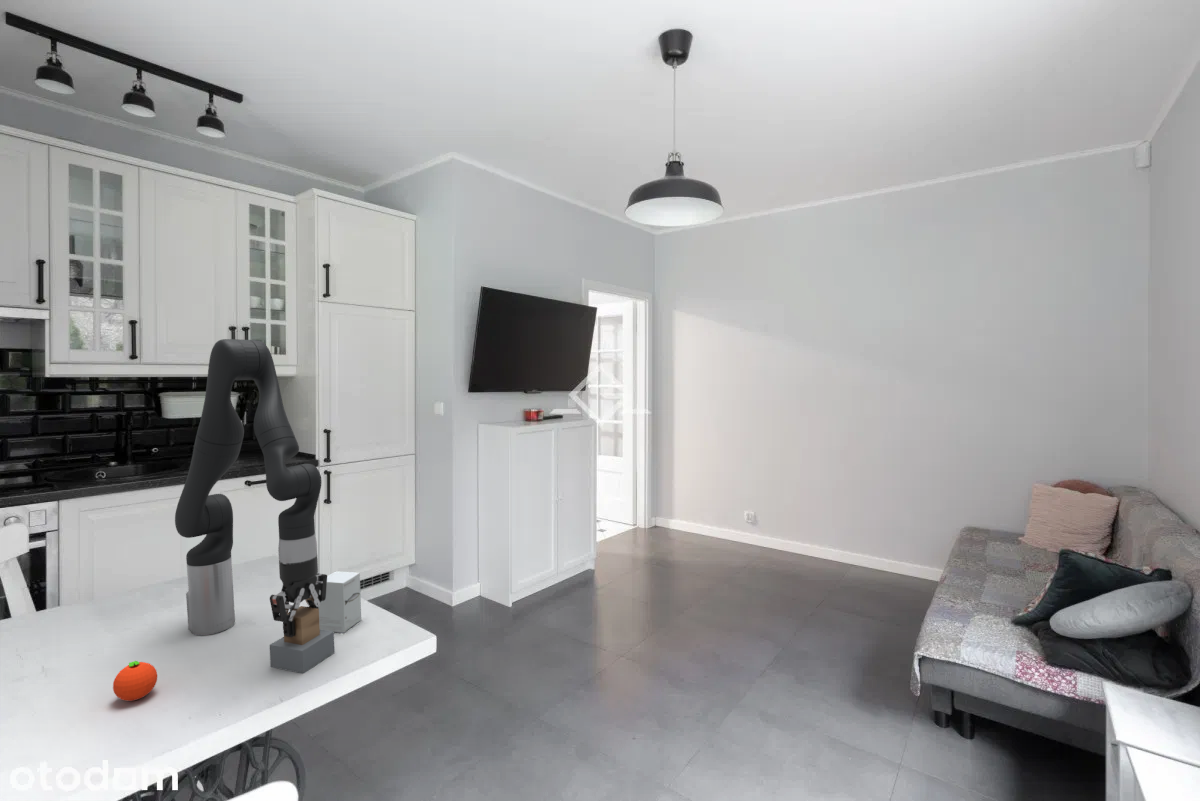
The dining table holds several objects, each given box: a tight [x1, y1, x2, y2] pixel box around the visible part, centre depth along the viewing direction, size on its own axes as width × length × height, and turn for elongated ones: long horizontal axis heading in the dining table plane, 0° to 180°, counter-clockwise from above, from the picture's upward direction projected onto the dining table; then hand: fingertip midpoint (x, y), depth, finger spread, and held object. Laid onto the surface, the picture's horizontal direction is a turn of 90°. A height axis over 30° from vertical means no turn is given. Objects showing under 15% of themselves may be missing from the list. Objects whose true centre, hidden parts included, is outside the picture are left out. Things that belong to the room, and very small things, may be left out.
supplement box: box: [318, 570, 362, 634], centre depth 145 cm, size 7×7×13 cm
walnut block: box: [283, 605, 320, 645], centre depth 128 cm, size 5×5×6 cm
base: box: [269, 629, 336, 674], centre depth 129 cm, size 9×9×5 cm
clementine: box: [112, 660, 158, 702], centre depth 115 cm, size 8×7×7 cm
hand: (301, 629), depth 129 cm, fingers open, 6 cm apart
